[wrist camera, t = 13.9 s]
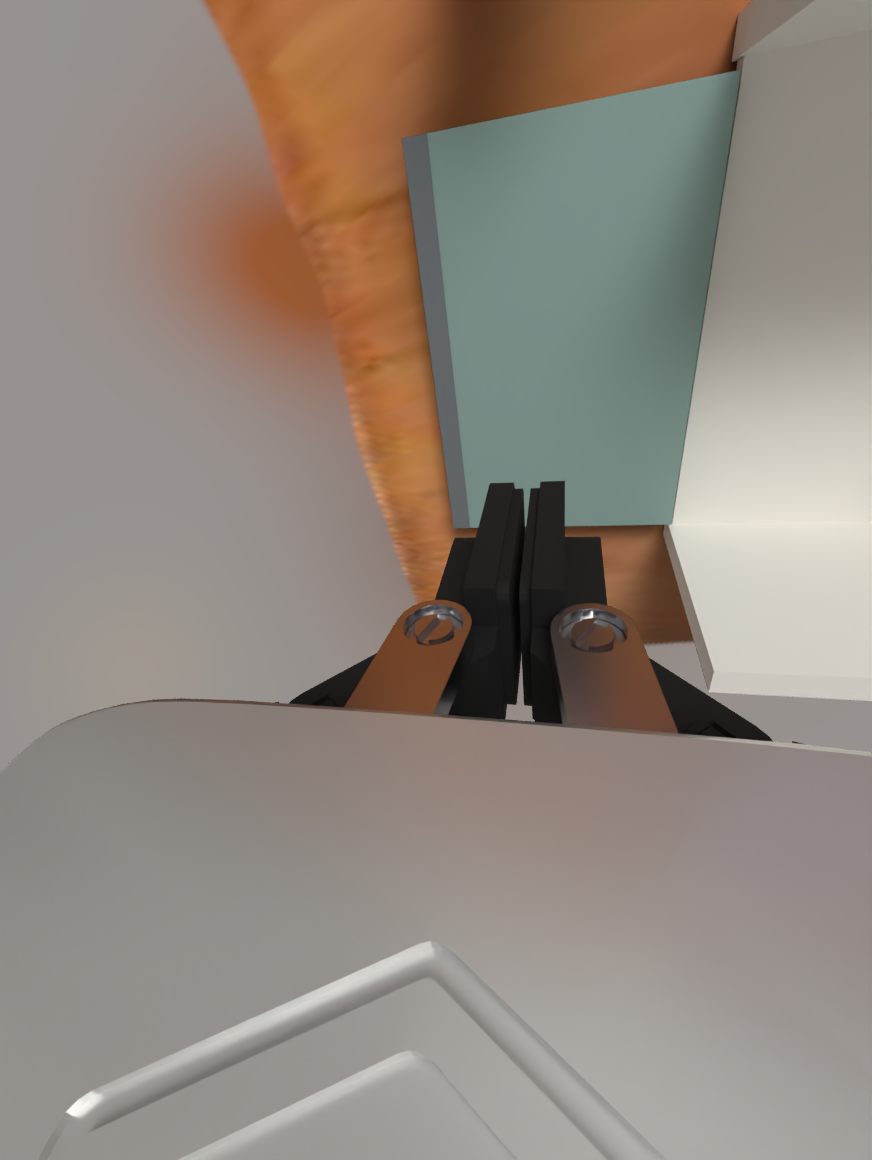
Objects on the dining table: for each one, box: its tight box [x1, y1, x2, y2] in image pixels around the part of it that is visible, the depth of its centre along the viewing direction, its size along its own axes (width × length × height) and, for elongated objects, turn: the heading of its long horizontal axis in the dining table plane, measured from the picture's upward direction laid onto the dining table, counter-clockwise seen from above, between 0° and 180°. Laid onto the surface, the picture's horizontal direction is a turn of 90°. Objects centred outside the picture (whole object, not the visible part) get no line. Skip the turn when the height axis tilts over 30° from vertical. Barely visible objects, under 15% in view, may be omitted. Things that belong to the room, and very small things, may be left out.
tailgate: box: [402, 70, 741, 528], centre depth 24 cm, size 1×18×12 cm
